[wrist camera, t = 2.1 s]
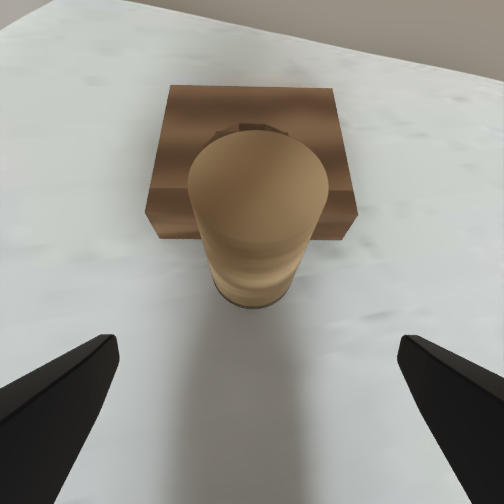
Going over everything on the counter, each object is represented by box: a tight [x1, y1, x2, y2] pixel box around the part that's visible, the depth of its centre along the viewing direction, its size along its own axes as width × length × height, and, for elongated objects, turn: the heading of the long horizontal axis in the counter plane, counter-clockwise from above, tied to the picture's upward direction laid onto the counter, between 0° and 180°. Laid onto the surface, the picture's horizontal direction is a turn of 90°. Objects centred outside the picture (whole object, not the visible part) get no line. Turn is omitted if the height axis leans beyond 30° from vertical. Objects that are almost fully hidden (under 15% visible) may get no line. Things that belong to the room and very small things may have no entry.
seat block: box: [145, 85, 358, 240], centre depth 26 cm, size 15×16×4 cm
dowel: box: [188, 130, 329, 309], centre depth 16 cm, size 5×5×13 cm
